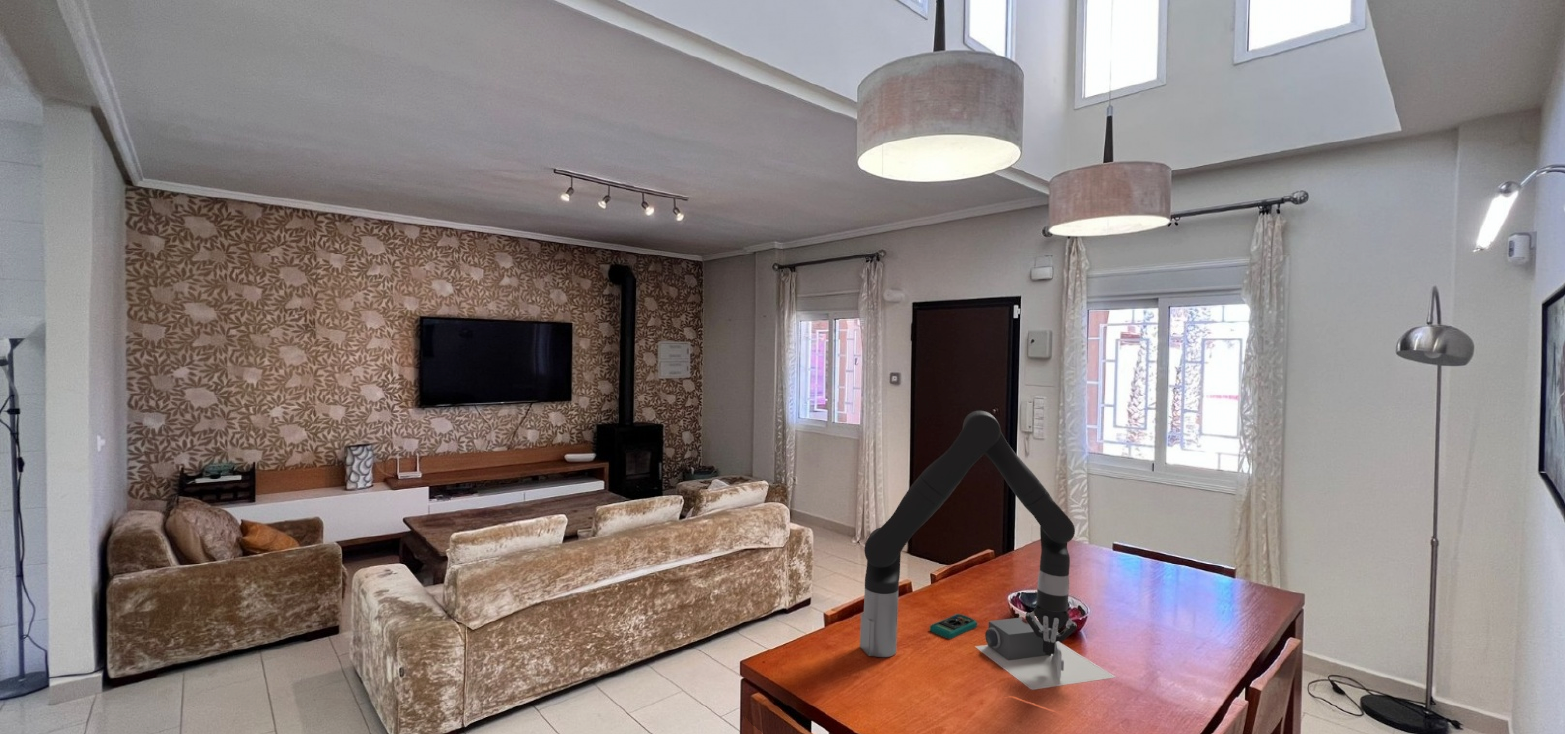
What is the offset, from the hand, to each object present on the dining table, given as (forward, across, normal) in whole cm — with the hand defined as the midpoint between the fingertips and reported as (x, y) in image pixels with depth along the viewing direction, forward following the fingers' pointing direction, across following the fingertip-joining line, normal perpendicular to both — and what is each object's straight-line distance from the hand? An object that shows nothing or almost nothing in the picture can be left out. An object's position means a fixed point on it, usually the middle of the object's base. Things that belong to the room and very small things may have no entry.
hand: (1048, 654), depth 166 cm
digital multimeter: (+6, -26, +15) cm, 31 cm away
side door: (+4, +2, +3) cm, 6 cm away
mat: (+5, -1, +5) cm, 7 cm away
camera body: (+4, -7, +9) cm, 13 cm away
